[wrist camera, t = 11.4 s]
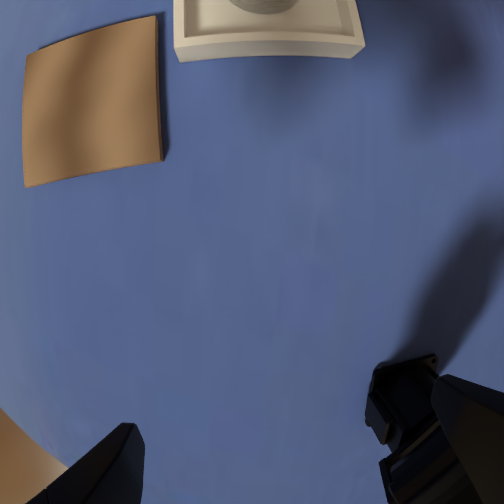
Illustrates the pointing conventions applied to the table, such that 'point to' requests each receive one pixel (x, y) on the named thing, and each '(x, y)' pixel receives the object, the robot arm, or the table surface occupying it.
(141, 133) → the walnut board
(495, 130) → the table surface
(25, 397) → the table surface
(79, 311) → the table surface
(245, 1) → the shiny metal canister
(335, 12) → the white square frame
